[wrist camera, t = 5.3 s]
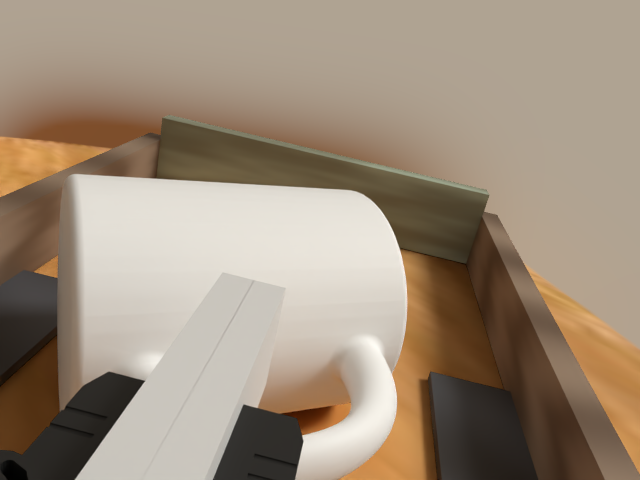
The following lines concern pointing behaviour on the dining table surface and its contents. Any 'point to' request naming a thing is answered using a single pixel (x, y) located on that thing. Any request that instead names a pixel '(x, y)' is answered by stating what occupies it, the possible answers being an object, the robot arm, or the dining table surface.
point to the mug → (249, 262)
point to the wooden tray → (412, 234)
